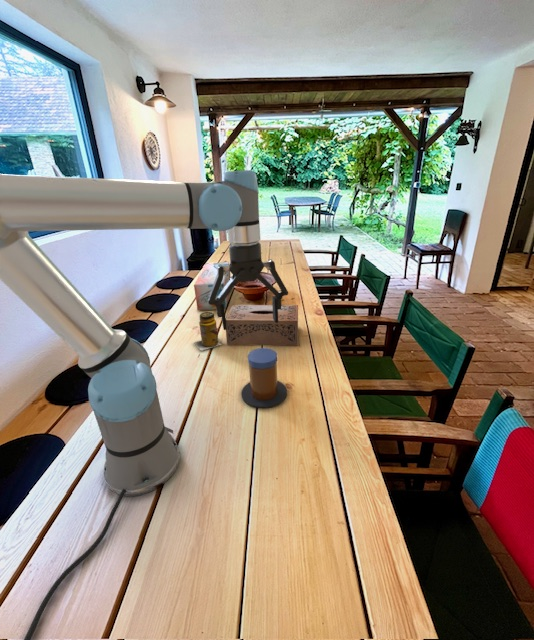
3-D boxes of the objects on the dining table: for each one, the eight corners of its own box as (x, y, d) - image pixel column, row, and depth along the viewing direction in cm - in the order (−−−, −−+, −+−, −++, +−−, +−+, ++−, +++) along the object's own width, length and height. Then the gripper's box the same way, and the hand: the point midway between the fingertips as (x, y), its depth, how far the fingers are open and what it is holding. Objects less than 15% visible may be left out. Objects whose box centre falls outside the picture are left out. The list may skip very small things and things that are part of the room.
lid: (271, 371, 82) (271, 365, 82) (243, 366, 85) (243, 360, 84) (280, 355, 89) (280, 350, 88) (254, 351, 92) (254, 346, 91)
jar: (272, 402, 87) (271, 366, 82) (246, 397, 89) (244, 362, 84) (280, 386, 93) (280, 351, 89) (256, 381, 96) (254, 348, 91)
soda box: (226, 310, 149) (224, 283, 143) (196, 311, 148) (192, 285, 143) (231, 283, 186) (229, 261, 180) (207, 284, 185) (204, 262, 180)
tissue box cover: (298, 328, 129) (298, 305, 125) (297, 346, 116) (297, 320, 112) (234, 327, 132) (232, 304, 127) (227, 344, 119) (224, 320, 114)
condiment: (222, 344, 119) (219, 314, 114) (201, 351, 115) (196, 321, 110) (214, 337, 124) (210, 308, 119) (193, 343, 120) (189, 314, 115)
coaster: (279, 412, 84) (279, 410, 84) (234, 403, 88) (233, 401, 88) (292, 384, 95) (292, 382, 95) (251, 377, 99) (251, 375, 99)
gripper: (290, 235, 81) (291, 312, 90) (190, 244, 77) (201, 324, 85) (300, 240, 75) (300, 323, 83) (190, 251, 70) (203, 337, 79)
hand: (250, 324), depth 84 cm, fingers open, 13 cm apart
